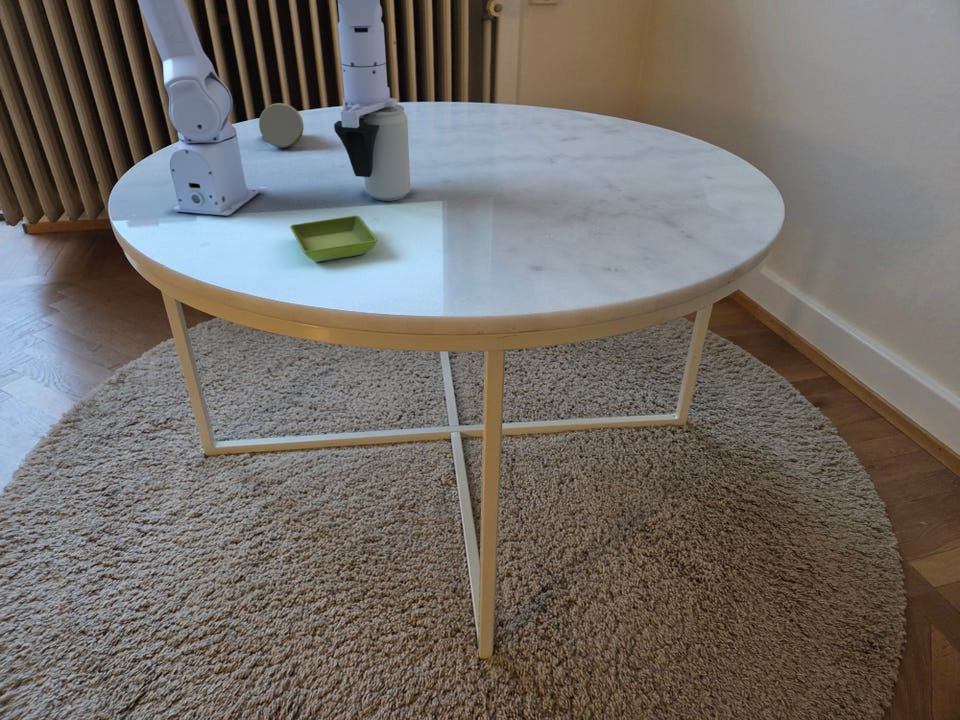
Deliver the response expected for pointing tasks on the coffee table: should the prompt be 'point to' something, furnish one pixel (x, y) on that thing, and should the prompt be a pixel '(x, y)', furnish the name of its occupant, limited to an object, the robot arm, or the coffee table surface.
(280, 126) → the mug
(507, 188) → the coffee table surface
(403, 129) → the beverage can
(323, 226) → the green tray
